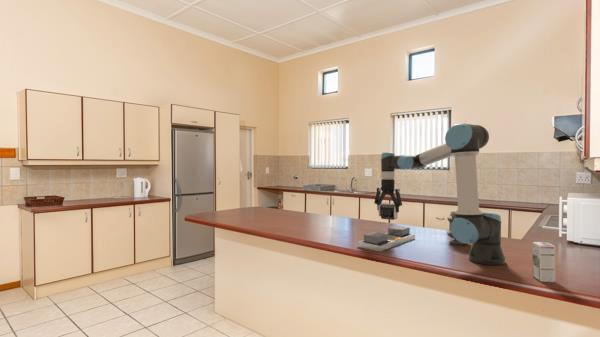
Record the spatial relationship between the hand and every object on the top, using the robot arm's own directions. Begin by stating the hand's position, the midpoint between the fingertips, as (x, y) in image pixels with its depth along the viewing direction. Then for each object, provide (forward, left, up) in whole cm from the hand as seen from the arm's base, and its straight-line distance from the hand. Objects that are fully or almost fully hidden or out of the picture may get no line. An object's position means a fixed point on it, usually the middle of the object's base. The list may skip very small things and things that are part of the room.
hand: (387, 216), depth 193 cm
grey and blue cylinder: (-30, -27, -15) cm, 43 cm away
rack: (0, 0, -15) cm, 15 cm away
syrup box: (-76, +11, -15) cm, 78 cm away
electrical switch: (0, 0, -1) cm, 1 cm away
